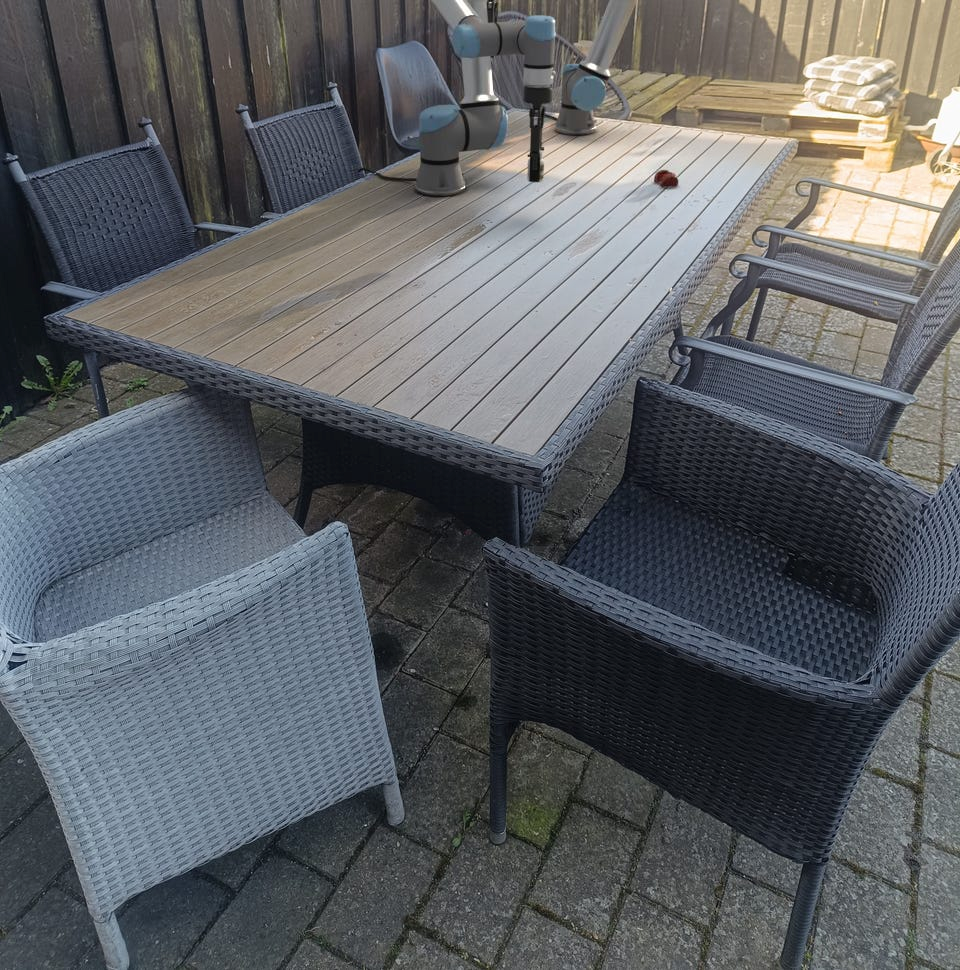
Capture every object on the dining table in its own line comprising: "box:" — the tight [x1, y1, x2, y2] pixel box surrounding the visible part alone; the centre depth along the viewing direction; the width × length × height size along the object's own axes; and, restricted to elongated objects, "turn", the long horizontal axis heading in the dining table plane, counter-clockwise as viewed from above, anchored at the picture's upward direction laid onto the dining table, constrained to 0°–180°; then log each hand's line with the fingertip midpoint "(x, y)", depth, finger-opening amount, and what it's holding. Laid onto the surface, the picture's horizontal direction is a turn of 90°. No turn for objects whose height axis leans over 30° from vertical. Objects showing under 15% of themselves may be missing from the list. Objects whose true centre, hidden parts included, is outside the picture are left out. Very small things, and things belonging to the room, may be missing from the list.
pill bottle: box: [526, 150, 545, 184], centre depth 227 cm, size 4×4×8 cm
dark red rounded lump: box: [653, 169, 679, 188], centre depth 261 cm, size 6×4×8 cm
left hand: (534, 178), depth 228 cm, fingers closed on pill bottle, 4 cm apart
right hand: (491, 54), depth 289 cm, fingers open, 13 cm apart
